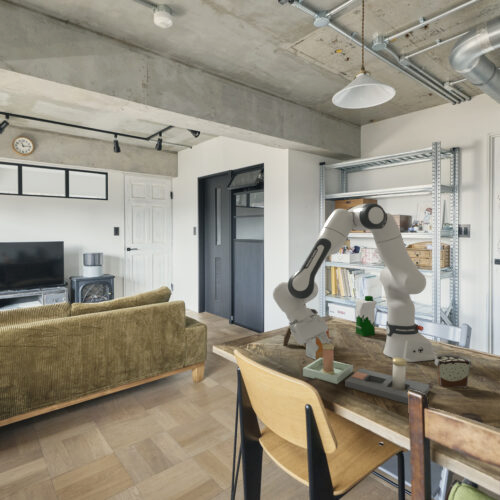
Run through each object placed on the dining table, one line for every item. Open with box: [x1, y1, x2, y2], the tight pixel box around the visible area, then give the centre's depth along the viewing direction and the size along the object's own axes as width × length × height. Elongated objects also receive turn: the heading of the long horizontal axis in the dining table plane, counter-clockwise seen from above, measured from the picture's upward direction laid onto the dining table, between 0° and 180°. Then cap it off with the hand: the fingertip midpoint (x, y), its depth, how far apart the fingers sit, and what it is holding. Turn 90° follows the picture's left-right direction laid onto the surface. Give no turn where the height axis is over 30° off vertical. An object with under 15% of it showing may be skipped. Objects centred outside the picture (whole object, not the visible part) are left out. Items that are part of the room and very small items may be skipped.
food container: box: [434, 353, 472, 388], centre depth 126 cm, size 12×6×10 cm, turn 92°
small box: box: [305, 326, 330, 361], centre depth 156 cm, size 8×6×13 cm
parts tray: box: [302, 358, 354, 385], centre depth 136 cm, size 14×14×3 cm
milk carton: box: [354, 295, 377, 337], centre depth 187 cm, size 9×9×20 cm
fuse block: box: [344, 368, 430, 405], centre depth 122 cm, size 24×14×3 cm, turn 51°
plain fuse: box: [392, 357, 408, 391], centre depth 120 cm, size 4×4×11 cm
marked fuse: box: [322, 342, 335, 375], centre depth 136 cm, size 4×4×11 cm
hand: (323, 346), depth 137 cm, fingers open, 8 cm apart
